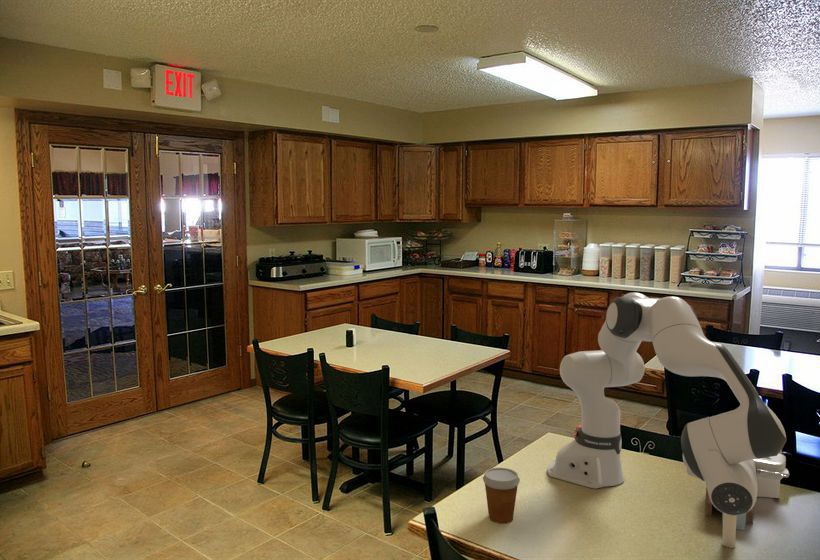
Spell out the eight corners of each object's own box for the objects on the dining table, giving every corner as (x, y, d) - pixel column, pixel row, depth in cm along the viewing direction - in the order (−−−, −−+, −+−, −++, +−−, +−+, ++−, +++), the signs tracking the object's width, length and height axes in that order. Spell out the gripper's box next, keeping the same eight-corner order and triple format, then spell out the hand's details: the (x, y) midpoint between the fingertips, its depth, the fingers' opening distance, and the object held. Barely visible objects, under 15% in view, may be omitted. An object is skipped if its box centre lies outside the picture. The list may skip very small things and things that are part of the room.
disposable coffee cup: (496, 530, 155) (497, 484, 154) (475, 514, 164) (475, 471, 162) (526, 521, 160) (527, 477, 158) (504, 506, 168) (505, 464, 167)
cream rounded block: (716, 544, 148) (718, 500, 147) (724, 517, 161) (726, 477, 160) (739, 550, 145) (741, 505, 144) (746, 522, 158) (748, 481, 157)
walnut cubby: (705, 514, 162) (706, 477, 161) (707, 493, 175) (708, 459, 174) (752, 524, 157) (754, 486, 156) (751, 501, 170) (753, 466, 169)
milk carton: (779, 498, 171) (783, 432, 169) (751, 496, 173) (754, 431, 171) (769, 487, 178) (773, 424, 176) (743, 485, 180) (746, 422, 178)
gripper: (791, 463, 124) (786, 440, 136) (680, 445, 133) (685, 425, 146) (789, 493, 125) (784, 467, 137) (679, 473, 134) (684, 451, 146)
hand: (732, 445), depth 141 cm, fingers open, 8 cm apart
